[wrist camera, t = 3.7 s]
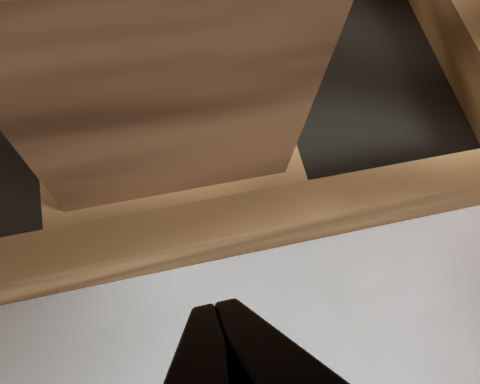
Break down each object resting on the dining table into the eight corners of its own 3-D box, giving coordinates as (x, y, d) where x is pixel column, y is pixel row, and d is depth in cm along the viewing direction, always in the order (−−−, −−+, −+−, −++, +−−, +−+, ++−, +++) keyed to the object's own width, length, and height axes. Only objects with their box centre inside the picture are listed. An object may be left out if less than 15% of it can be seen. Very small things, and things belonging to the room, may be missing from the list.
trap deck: (527, 194, 21) (577, 165, 18) (-257, 358, 15) (-356, 353, 13) (364, -118, 29) (381, -171, 26) (-179, -80, 24) (-228, -141, 21)
